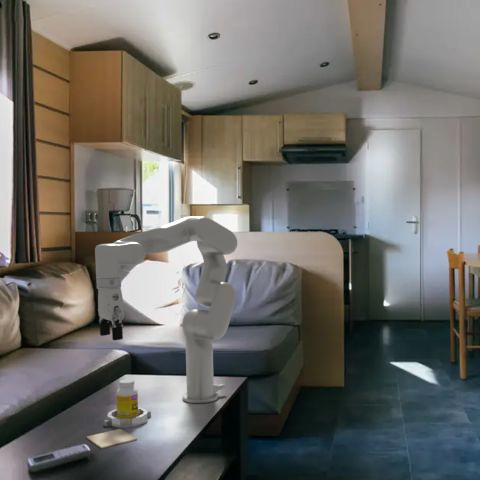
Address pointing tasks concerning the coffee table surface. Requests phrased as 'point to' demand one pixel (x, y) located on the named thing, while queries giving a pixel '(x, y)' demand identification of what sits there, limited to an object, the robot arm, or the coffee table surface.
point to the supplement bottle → (127, 399)
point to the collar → (127, 419)
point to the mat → (111, 438)
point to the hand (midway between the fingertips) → (111, 337)
